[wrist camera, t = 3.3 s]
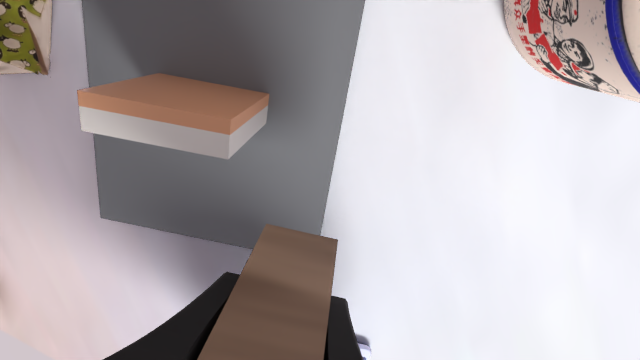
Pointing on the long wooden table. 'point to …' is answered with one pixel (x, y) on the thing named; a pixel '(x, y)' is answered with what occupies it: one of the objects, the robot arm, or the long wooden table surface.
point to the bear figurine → (25, 36)
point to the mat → (236, 71)
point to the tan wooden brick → (278, 300)
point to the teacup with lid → (580, 42)
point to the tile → (174, 113)
